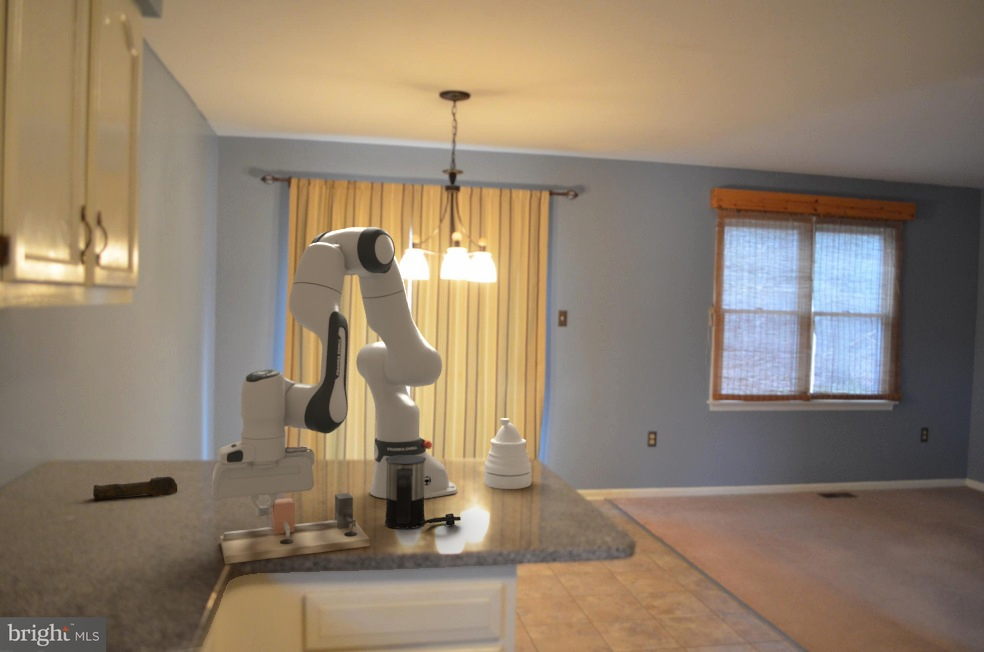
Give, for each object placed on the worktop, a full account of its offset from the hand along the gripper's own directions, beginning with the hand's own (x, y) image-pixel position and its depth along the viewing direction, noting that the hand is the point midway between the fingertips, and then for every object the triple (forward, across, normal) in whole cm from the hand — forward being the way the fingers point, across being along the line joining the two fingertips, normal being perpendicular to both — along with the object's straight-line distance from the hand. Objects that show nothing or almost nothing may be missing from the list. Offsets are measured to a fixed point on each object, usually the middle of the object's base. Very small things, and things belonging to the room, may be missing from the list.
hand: (263, 515), depth 156 cm
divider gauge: (+6, -6, +4) cm, 9 cm away
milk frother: (+6, -34, +1) cm, 35 cm away
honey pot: (+6, -68, -26) cm, 73 cm away
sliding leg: (+4, -4, +2) cm, 6 cm away
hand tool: (+6, +26, -47) cm, 54 cm away
